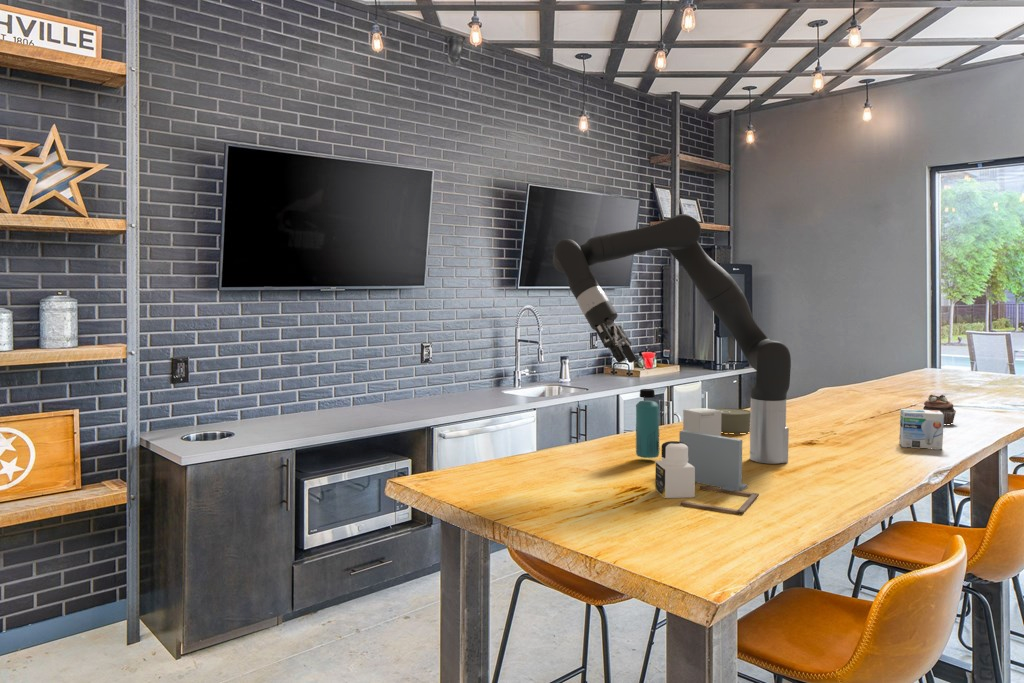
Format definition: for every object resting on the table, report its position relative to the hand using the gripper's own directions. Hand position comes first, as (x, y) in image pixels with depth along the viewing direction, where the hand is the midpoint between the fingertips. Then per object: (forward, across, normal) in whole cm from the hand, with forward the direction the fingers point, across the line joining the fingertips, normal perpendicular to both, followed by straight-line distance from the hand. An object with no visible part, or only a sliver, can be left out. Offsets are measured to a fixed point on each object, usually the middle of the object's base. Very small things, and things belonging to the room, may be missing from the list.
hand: (628, 361), depth 173 cm
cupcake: (+57, +117, -52) cm, 140 cm away
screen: (+36, +3, -1) cm, 36 cm away
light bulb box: (+56, +72, -43) cm, 101 cm away
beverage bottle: (+23, +19, +15) cm, 34 cm away
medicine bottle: (+34, -9, +4) cm, 35 cm away
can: (+26, +72, +2) cm, 76 cm away
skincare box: (+32, +18, +3) cm, 37 cm away
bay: (+39, -9, -4) cm, 40 cm away
